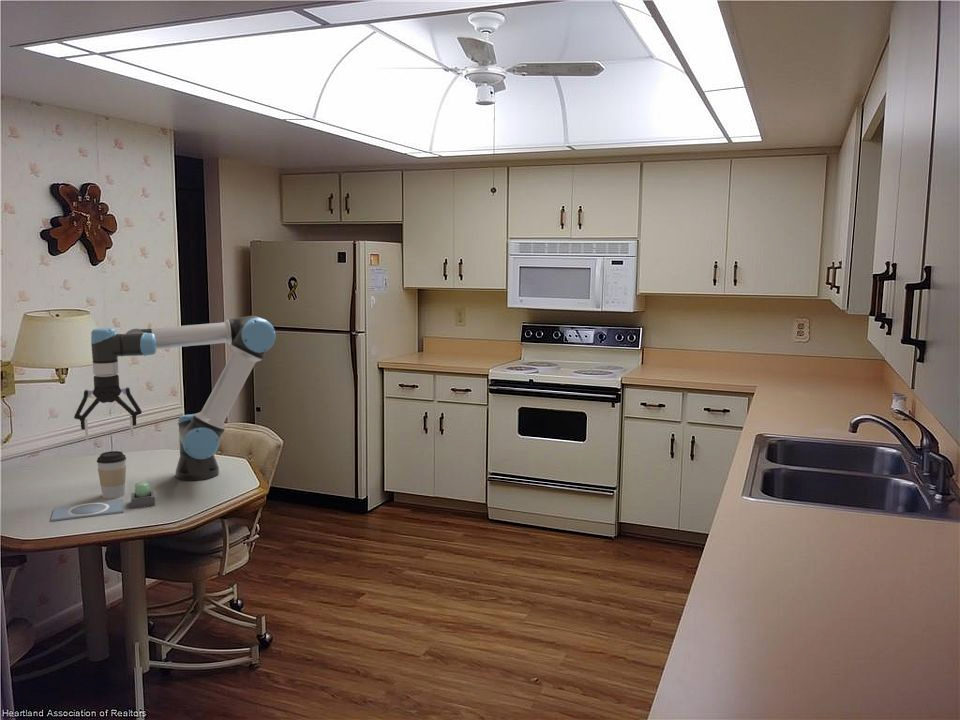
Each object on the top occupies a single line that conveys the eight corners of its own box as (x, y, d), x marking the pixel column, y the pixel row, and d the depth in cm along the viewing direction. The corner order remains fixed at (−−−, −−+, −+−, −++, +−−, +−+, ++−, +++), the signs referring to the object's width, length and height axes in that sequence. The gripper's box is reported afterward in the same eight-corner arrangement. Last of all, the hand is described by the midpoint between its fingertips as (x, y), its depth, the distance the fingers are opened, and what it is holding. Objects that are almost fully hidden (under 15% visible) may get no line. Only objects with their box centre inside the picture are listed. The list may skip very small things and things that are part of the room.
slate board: (123, 501, 250) (123, 499, 250) (123, 512, 239) (122, 510, 239) (54, 509, 241) (54, 507, 241) (51, 521, 230) (50, 519, 230)
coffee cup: (96, 500, 250) (93, 456, 248) (101, 492, 259) (99, 449, 257) (125, 498, 252) (123, 455, 250) (130, 490, 261) (128, 448, 259)
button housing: (154, 499, 252) (154, 490, 252) (155, 505, 246) (154, 496, 246) (131, 501, 249) (131, 493, 249) (131, 508, 243) (131, 499, 243)
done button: (149, 493, 250) (149, 481, 250) (150, 497, 246) (149, 485, 246) (135, 494, 248) (134, 483, 248) (135, 498, 244) (134, 486, 244)
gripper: (146, 370, 258) (149, 431, 261) (64, 375, 248) (68, 437, 251) (147, 374, 251) (150, 436, 254) (62, 378, 241) (66, 443, 244)
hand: (109, 437), depth 253 cm, fingers open, 13 cm apart
